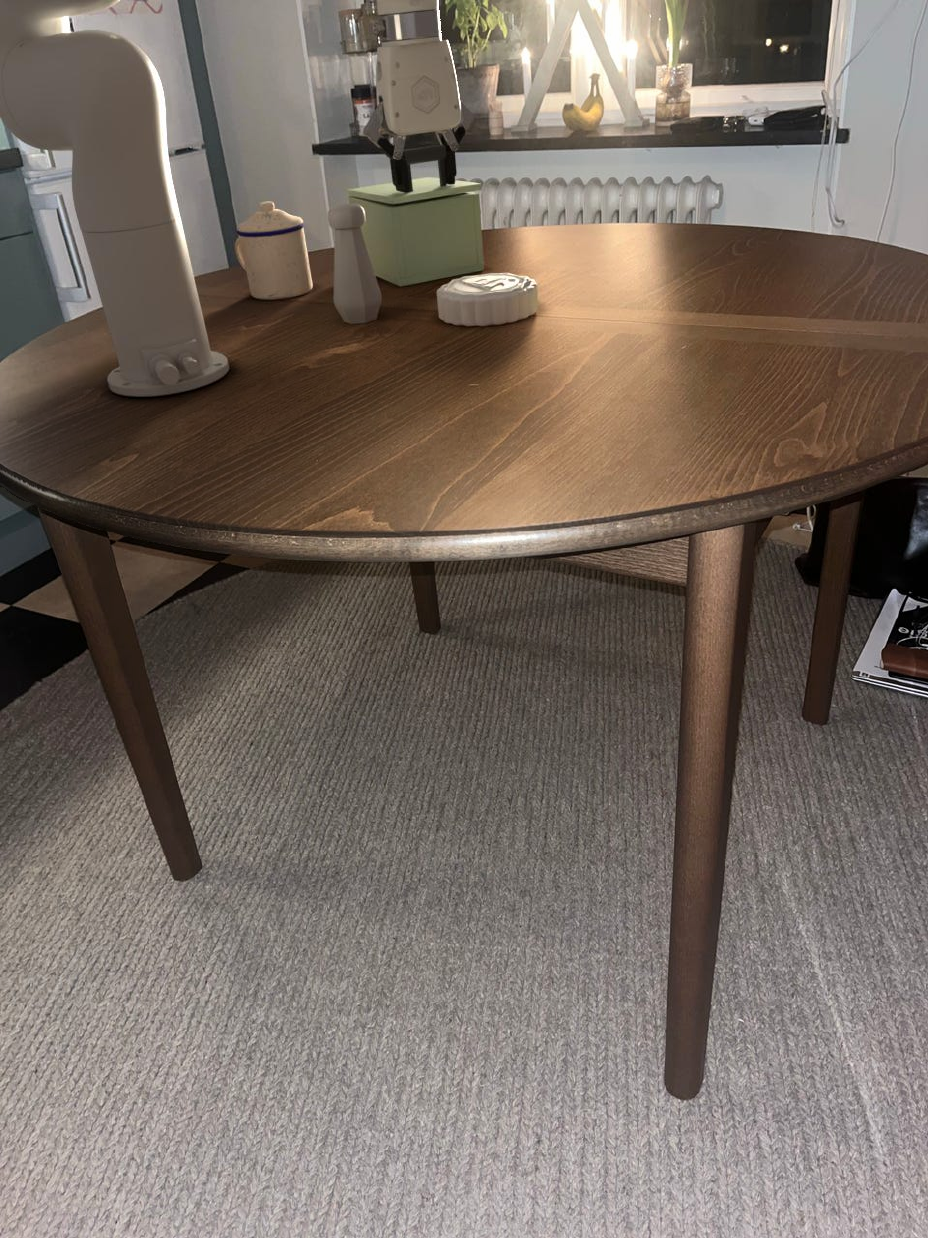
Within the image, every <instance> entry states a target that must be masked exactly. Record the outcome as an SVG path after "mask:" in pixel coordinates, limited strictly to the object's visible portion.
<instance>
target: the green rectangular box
mask: <svg viewBox="0 0 928 1238" xmlns="http://www.w3.org/2000/svg"><path fill="white" fill-rule="evenodd" d="M480 199H481V198H480V193H479V192H475V191H472V192H465V193H459V194H453V195H447V196H441V197H435V198H429V199H423V200H417V201H411V202H405V203H398V204H389V203H384V202H379V201H374V200H369V199H364V198H359V197H353V196H349V195H348V201H349V203H353V204H359V205H360V206H362V207H363V209H364V212H365V219H366V221H365V224H364V225H363V226H361V227H360V228H361V231H362V234H363V237H364V241H365V244H366V247H367V250H368V254H369V257H370V260H371V263H372V266H373V270H374V273H375V276H376V278H377V277H378V278H380V279H382V280H384V281H387V282H389V283H391V284H393V285H396V286H398V287H406V286H410V285H417V284H420V283H426V282H430V281H435V280H436V281H437V280H442V279H446V278H451V277H452V278H453V277H456V276H461V275H466V274H472V273H475V272H476V273H477V272H481V271H485V259H484V247H483V231H482V230H483V229H482V215H481V200H480ZM349 203H348V204H349Z"/></svg>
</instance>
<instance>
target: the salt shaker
mask: <svg viewBox="0 0 928 1238" xmlns="http://www.w3.org/2000/svg"><path fill="white" fill-rule="evenodd" d="M365 221H366V219H365V212H364V209H363V207H362V206H360V205H359V204H353V203H341V204H337V205H333V206H332V207H330V208H329V210H328V211H327V223H328V225H329V227H330V228H331V229H333V230H334V255H333V257H334V260H333V261H334V262H333V297H332V298H333V306H334V307H335V309H336V310H337V313H338V314H339V316H340V317H341V319H342V321H343V322H344V323H347V324H351V325H352V324H353V325H355V324H365V323H369V322H372V321H375V320H377V318H378V315H379V310H380V306H381V303H382V296H383V295H382V293H381V289H380V286H379V282H378V280H377V276H375V273H374V270H373V266H372V263H371V260H370V257H369V254H368V250H367V247H366V244H365V241H364V237H363V234H362V231H361V228H360V227H361V226H363V225H364V224H365Z"/></svg>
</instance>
